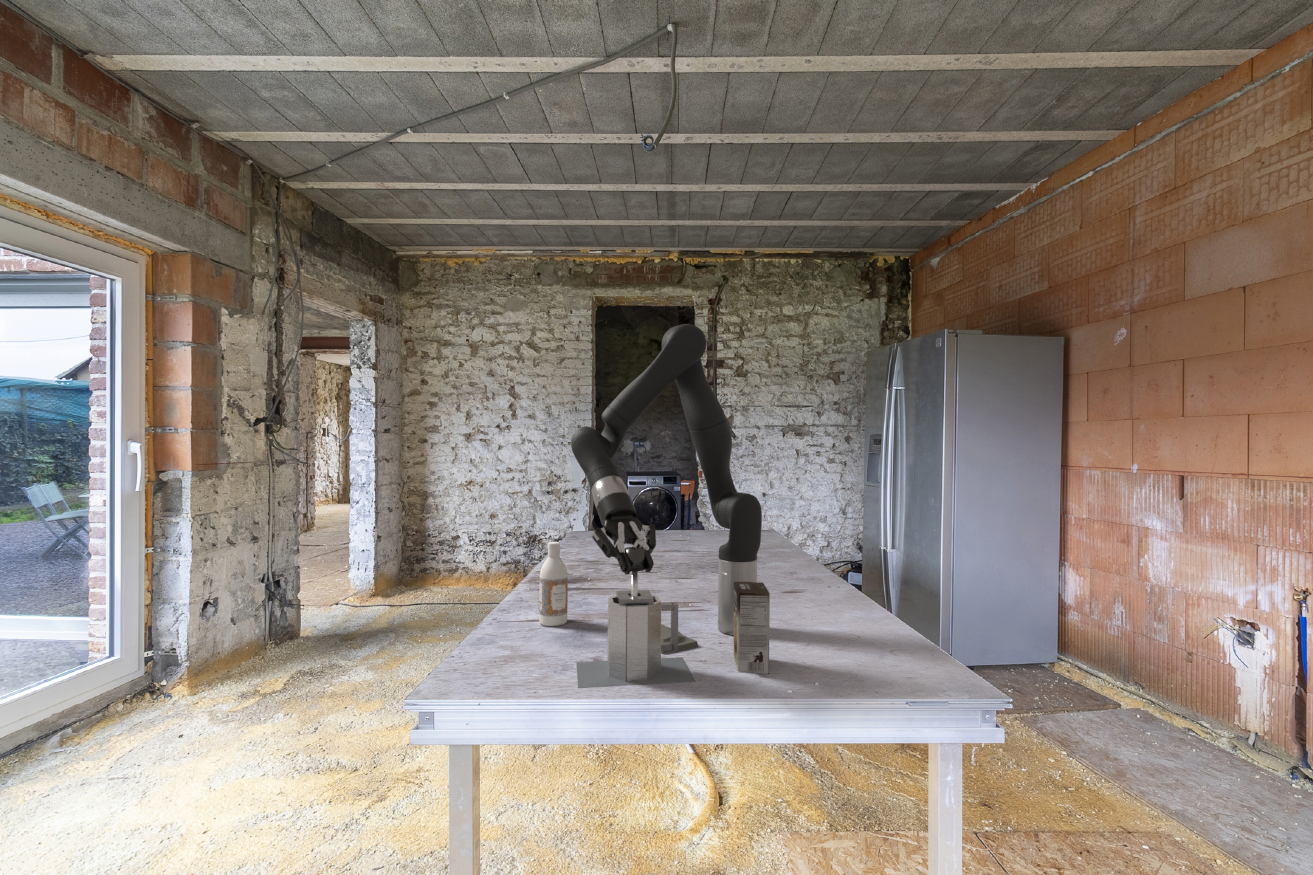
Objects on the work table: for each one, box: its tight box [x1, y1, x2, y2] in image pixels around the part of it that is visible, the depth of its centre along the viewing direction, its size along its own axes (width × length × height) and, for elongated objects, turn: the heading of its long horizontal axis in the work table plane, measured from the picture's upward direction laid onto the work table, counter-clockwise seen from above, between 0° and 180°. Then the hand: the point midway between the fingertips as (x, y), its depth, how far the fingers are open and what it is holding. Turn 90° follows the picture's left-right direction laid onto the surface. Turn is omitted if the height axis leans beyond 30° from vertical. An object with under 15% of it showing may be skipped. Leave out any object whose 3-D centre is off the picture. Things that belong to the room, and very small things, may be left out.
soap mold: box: [661, 623, 699, 655], centre depth 140 cm, size 10×20×4 cm, turn 34°
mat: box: [576, 656, 697, 689], centre depth 119 cm, size 22×13×1 cm, turn 99°
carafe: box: [607, 589, 679, 682], centre depth 120 cm, size 14×10×15 cm
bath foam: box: [538, 541, 569, 627], centre depth 152 cm, size 7×7×20 cm
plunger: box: [624, 546, 645, 606], centre depth 119 cm, size 7×7×21 cm
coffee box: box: [733, 581, 771, 675], centre depth 124 cm, size 9×6×16 cm
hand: (639, 570), depth 118 cm, fingers closed on plunger, 4 cm apart
